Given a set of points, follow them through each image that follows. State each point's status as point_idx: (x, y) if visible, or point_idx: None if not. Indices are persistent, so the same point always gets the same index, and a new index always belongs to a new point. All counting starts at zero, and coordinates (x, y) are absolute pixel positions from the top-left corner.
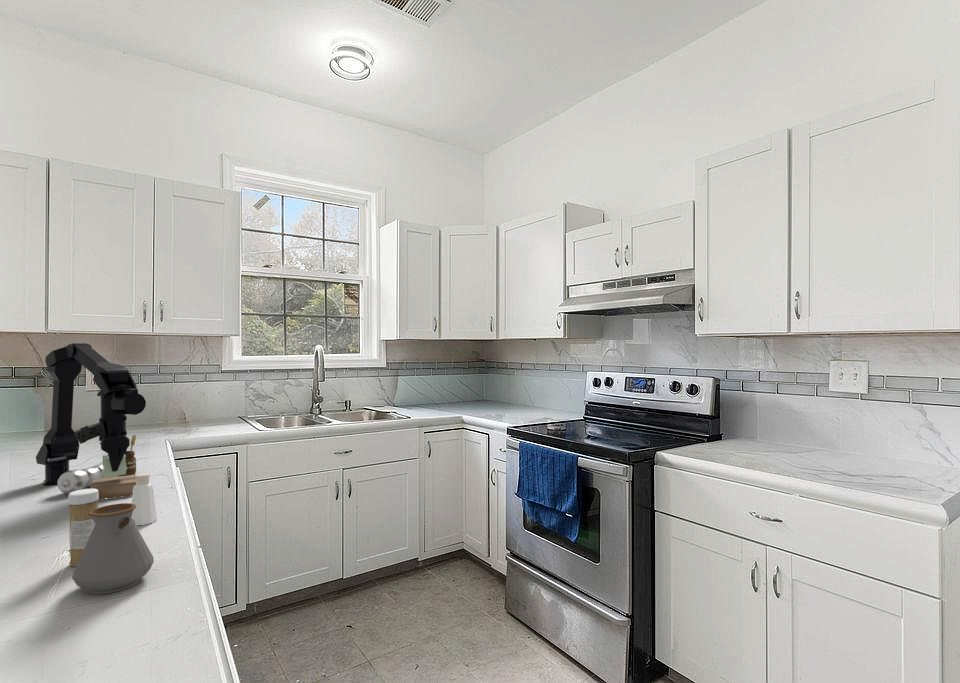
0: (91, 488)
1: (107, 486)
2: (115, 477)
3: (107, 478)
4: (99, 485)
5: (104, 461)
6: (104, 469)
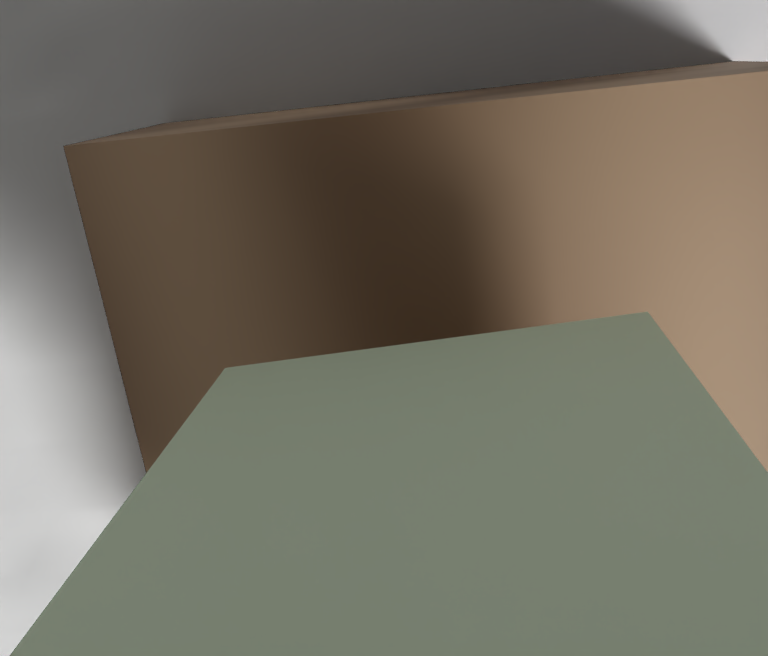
0: (76, 156)
1: (134, 377)
2: (752, 442)
3: (762, 323)
4: (182, 266)
5: (50, 647)
6: (169, 475)
